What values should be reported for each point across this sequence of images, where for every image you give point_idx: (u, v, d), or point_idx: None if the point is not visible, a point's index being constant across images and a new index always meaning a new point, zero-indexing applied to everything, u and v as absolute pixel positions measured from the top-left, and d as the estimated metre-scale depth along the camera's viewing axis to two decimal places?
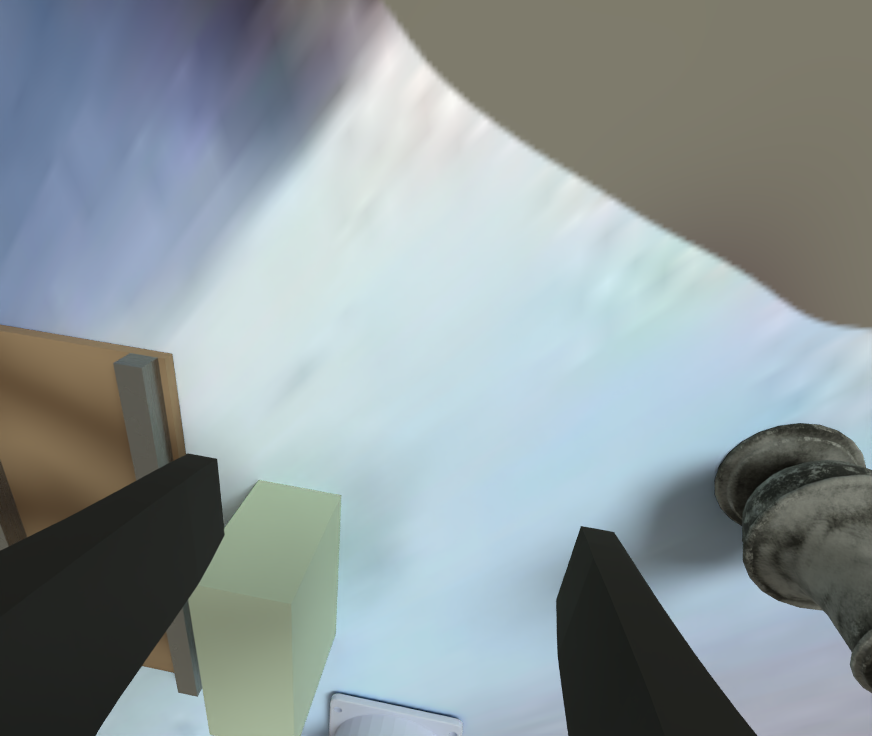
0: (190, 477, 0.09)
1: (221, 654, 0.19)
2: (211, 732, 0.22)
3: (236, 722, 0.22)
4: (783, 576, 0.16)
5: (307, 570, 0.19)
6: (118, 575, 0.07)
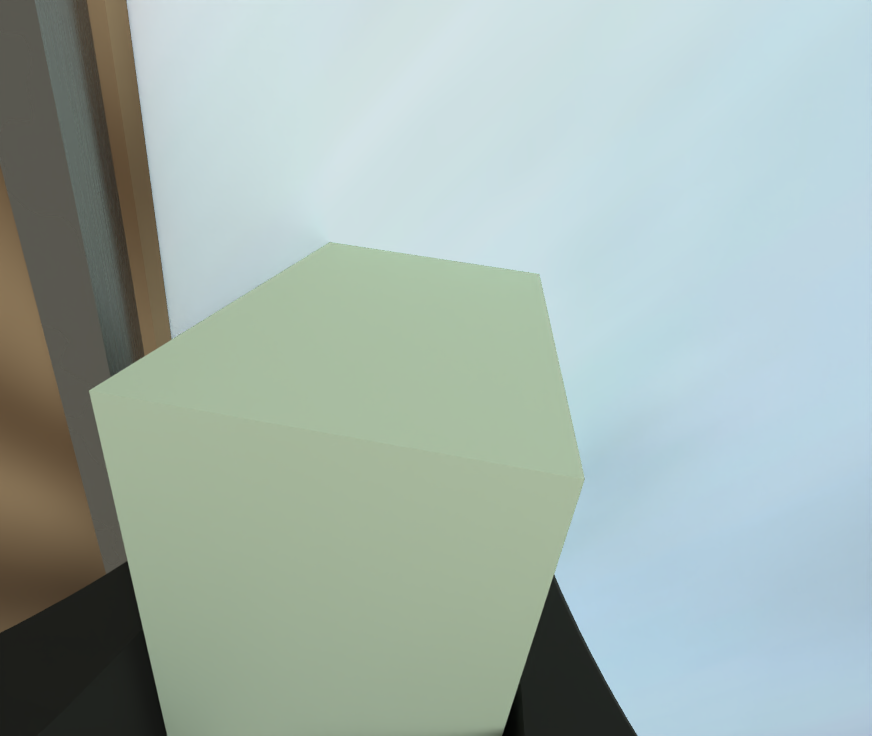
0: None
1: (242, 696, 0.06)
2: None
3: None
4: None
5: None
6: None
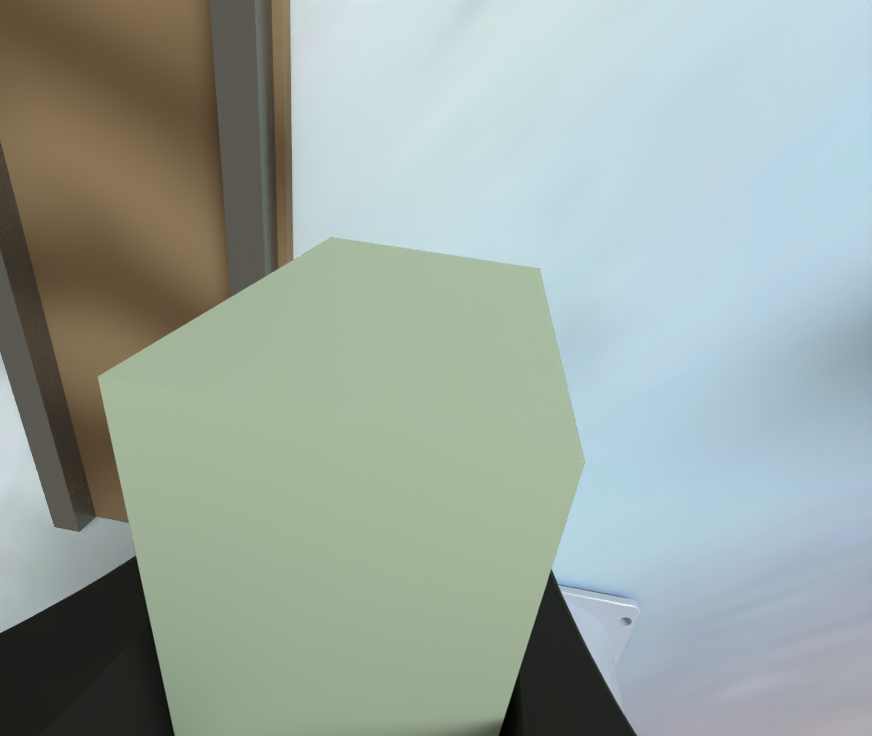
0: None
1: (246, 682, 0.06)
2: None
3: None
4: None
5: None
6: None
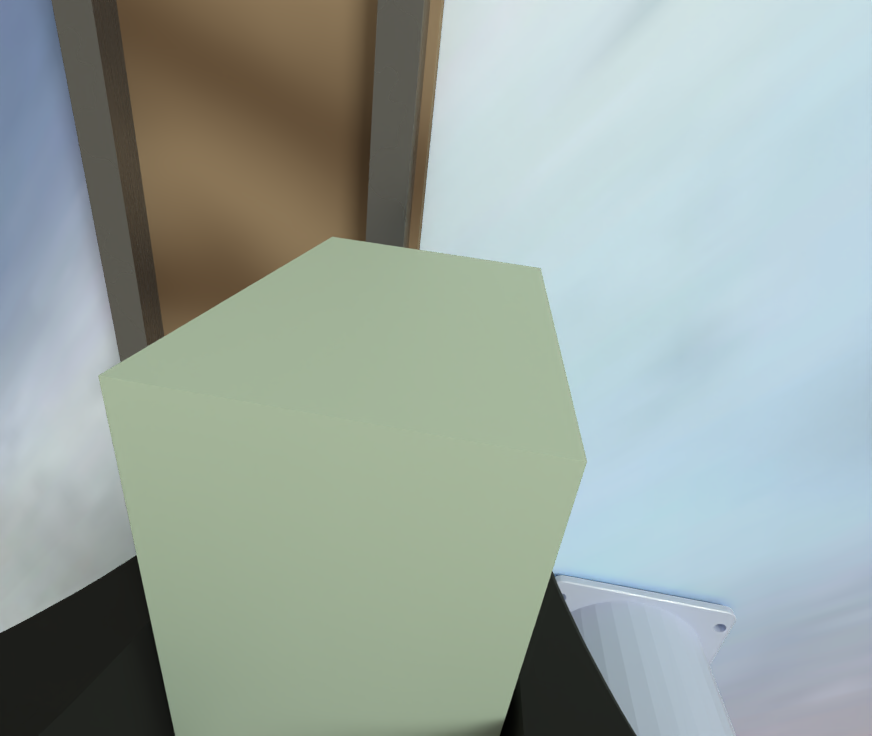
0: None
1: (247, 682, 0.06)
2: None
3: None
4: None
5: None
6: None
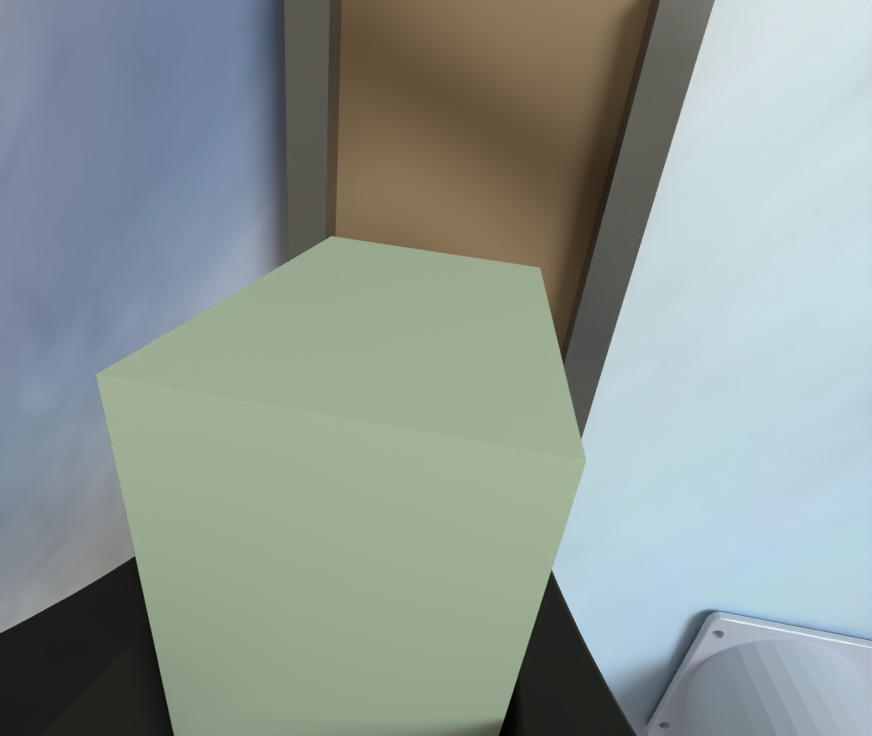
0: None
1: (245, 683, 0.06)
2: None
3: None
4: None
5: None
6: None
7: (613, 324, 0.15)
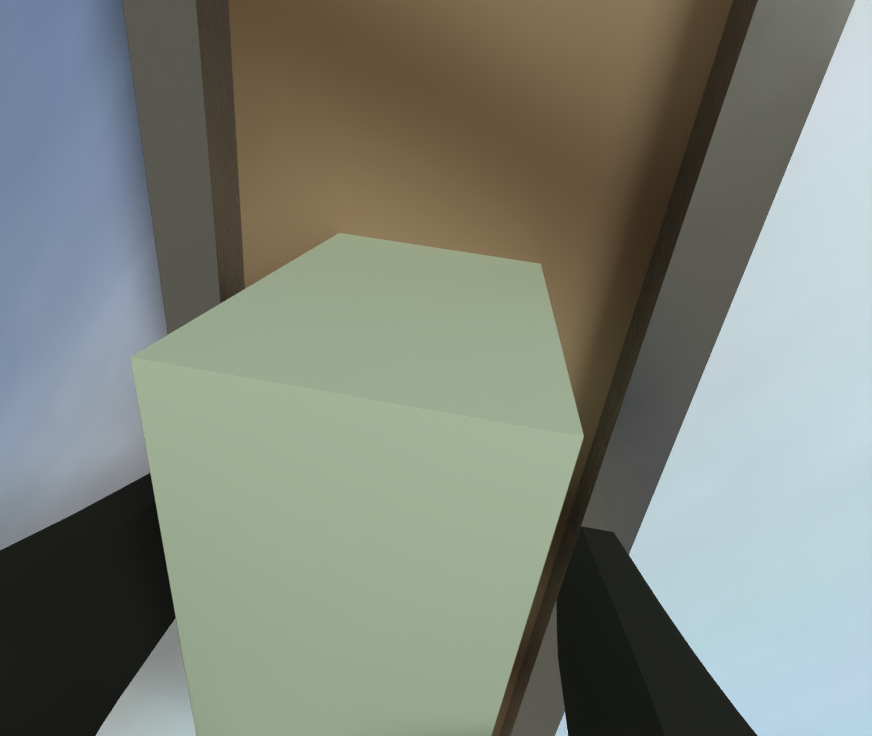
0: None
1: (262, 654, 0.06)
2: None
3: None
4: None
5: None
6: (118, 575, 0.07)
7: (674, 435, 0.10)
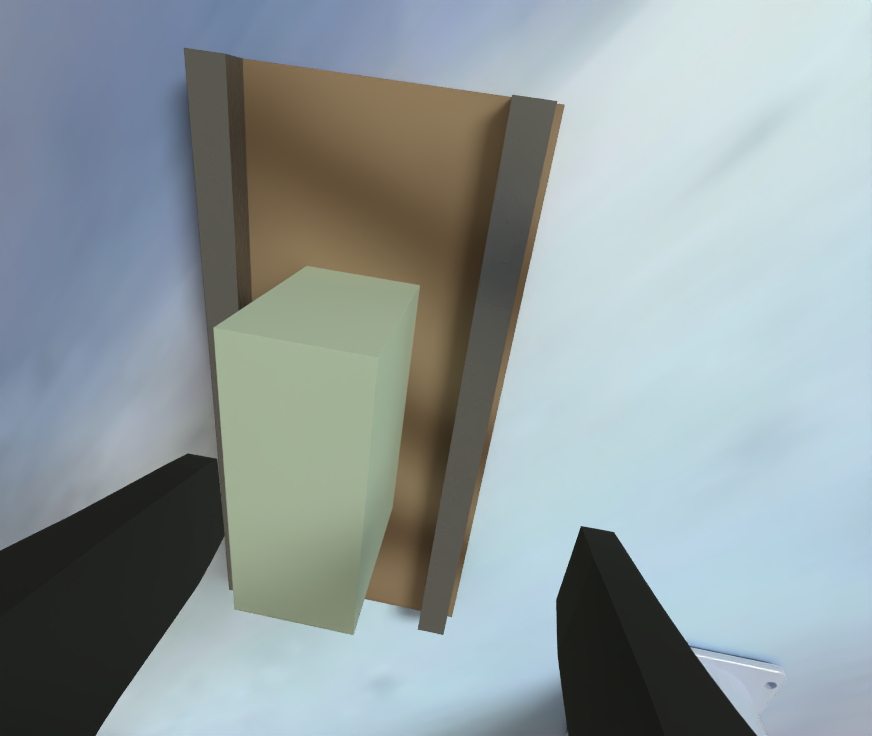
0: (190, 477, 0.09)
1: (261, 465, 0.13)
2: (237, 606, 0.16)
3: (274, 586, 0.15)
4: None
5: (392, 336, 0.13)
6: (118, 575, 0.07)
7: (495, 383, 0.17)
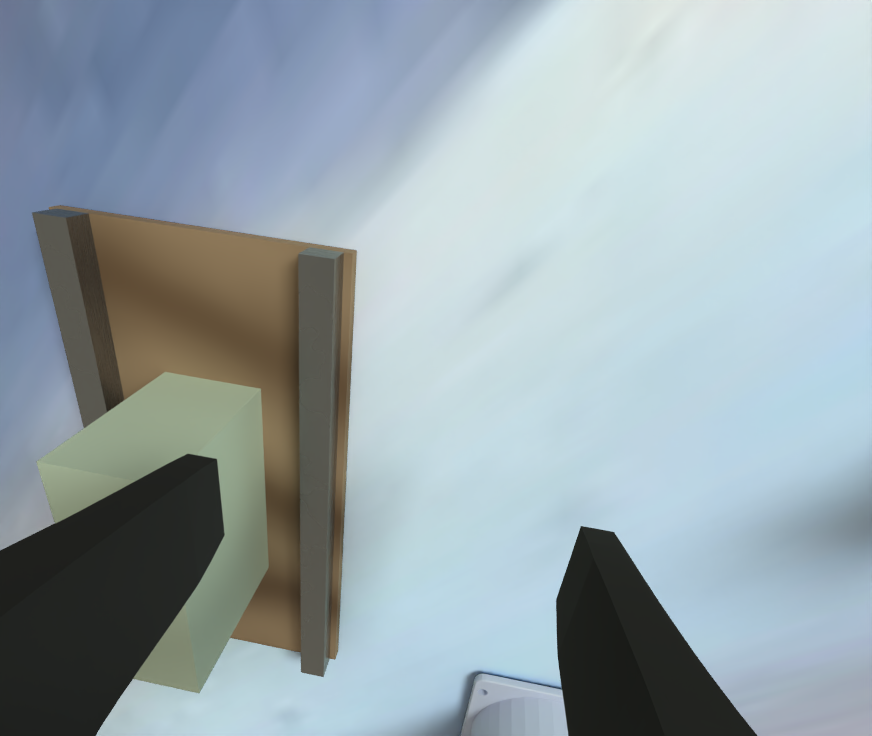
0: (190, 477, 0.09)
1: None
2: None
3: None
4: None
5: None
6: (118, 575, 0.07)
7: (327, 471, 0.19)
